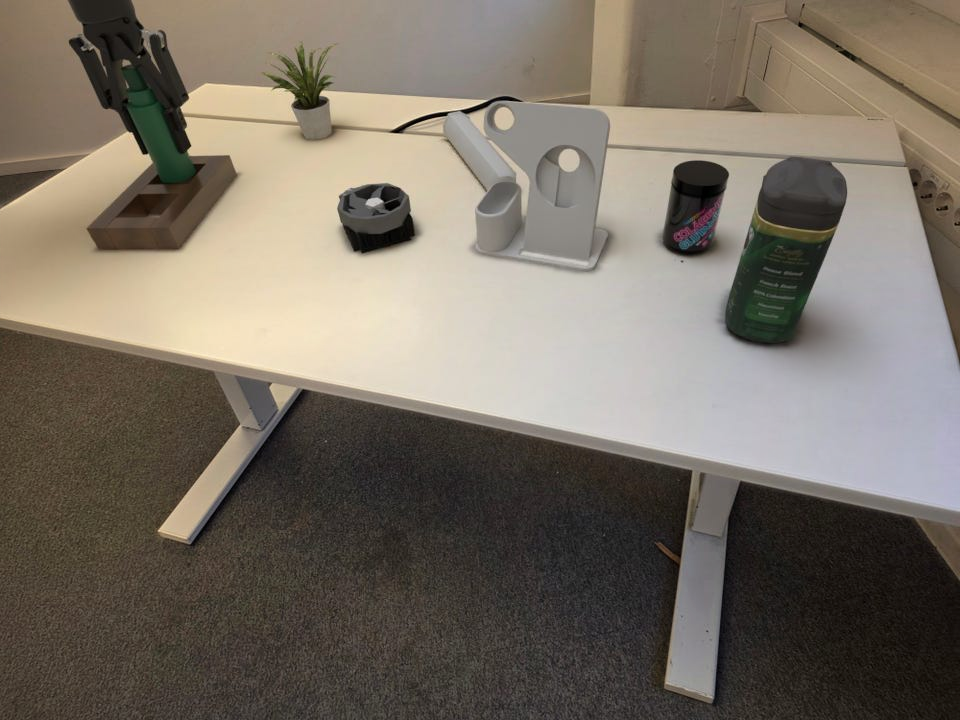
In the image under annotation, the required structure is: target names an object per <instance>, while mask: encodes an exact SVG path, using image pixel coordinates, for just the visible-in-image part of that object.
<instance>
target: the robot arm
mask: <svg viewBox="0 0 960 720" xmlns="http://www.w3.org/2000/svg"><path fill="white" fill-rule="evenodd" d="M67 2H68V4H69V6H70V9H71V10H72V12H73V14H74V16H75V18H76V20H77V21H78V22H79V23H81V25H82V33H79V34H76V35H75V36H73V37H72V38H70V39H68V45H69V46H70V47H71V49H72V50H73V51H74V53H75V54H76V56H77V57H78V58H79V60H80V62H81V64H82V66H83V68H84V71H85V73H86V75H87V77H88V79H89V82H90V84H91V86H92V88H93V91H94V92H95V95H96V97H97V99H98V101H99V104H100V105H101V107H102V108H103V109H104V110H112V111H115V112H116V113H117V114H118V115H119V117H120V119H121V121H122V124H123V125H124V128H125V130H126V131H127V132H128V133H129V134H130V133H131V134H132V135H133V137H134V140H135V142H136V144H137V146H138V148H139V151H140V153H141V154H142V155H143V156H146V155H149V154H148V151H147V149H146V147H145V145H144V143H143V141H142V139H141V137H140V135H139V132H138V130H137V128H136V126H135V124H134V122H133V120H132V118H131V115H130V113H129V111H128V109H127V107H126V105H127V103H129V102H130V100H129V98H128V96H127V94H126V89H128V84H127V82H126V80H125V77H124V75H123V73H122V71H121V68H122V67H124V65H123V63H124V61H128V62H129V63H130V64H132V66H133V67H135V68H137V69H138V71H139V72H140V73H141V75H142V76H143V78H144V79H145V80H146V82H147V83H148V85H149V86H150V88H151V89H152V90H153V92H154V93H155V95H156V96H157V97H158V99H159V100H160V102H161V103H162V104H163V106H164V107H165V110H164V112H162V114H163V116H164V118H165V121H166V123H167V125H168V128H169V130H170V132H171V135H172V137H173V139H174V141H175V144H176V146H177V148H178V151H179V153H180V154H185V152H186V151H188V150H189V149H191V147H192V143H191V141H190V139H189V136H188V134H187V132H186V129H187V128H188V122H187V121H186V118H185V116H184V113H183V110H182V108H181V107H183V105H185V104H186V103H187V102H188V101H189V100H190V96H189V94H188V91H187V88H186V87H185V84H184V82H183V80H182V77H181V75H180V73H179V71H178V68H177V66H176V63H175V61H174V59H173V56H172V55H171V52H170V50H169V48H168V47H169V46H168V39H167V34H166V32H165V31H164V30H162V29H158V30H157V31H155V30H151V29H147V28H145V27H144V25H143V24H142V23H141V22H140V21H139V19H138V18H137V15H136V9H135V5H134V3H133V1H132V0H67ZM145 42H146V46H147V48H149V49H150V52H151V54H150V52H149V51H148V49H147V48H146V46H145V44H144V43H145ZM94 47H95V48H94ZM96 49H97V50H98V51H99V54H100V57H99V55H98V53H97V51H96ZM152 57H153V59H154V62H153V60H152ZM100 59H101V60H100Z"/></svg>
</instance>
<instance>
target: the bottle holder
mask: <svg viewBox="0 0 960 720" xmlns="http://www.w3.org/2000/svg"><path fill="white" fill-rule="evenodd" d="M189 156H190V158H191V161H192V163H193V165H194V168H195V170H196V173H195V174H194V175H193V176H192V177H191V178H189V179H187V180H185V181H181V182H177V183H165V182H162V181H161V179H160V177H159V175H158V173H157V171H156V168H155V166H154V164H153V162H152V163H151V164H150V165H148V167H147V168H146V169H145V170H144V171H143V172H142V173H141V174H140V175H139V176H138V177H137V178H136V179H135V180H133V182H132V183H130V184H129V185H128V187H127V188H125V189H124V190H123V191H122V192H121V194H119V195H118V196H117V197H116V198H115V199H114V200H113V201H112V202H111V203H110V204H109V205H108V206H107V207H106V208H105V209H104V210H103V211H102V212H101V213H100V214H99V215H98V216H97V217H96V218H95V219H94V220H93V221H92V222H91V223H90V224H89V225H88V226H87V227H86V228H85V230H86V231H87V233H88V234H89V236H90V238H91V239H92V241H93V242H94V245H95V246H96V248H97V249H98V250H99V251H102V250H104V251H106V250H107V251H110V250H111V251H116V250H117V251H119V250H121V251H123V250H124V251H125V250H127V251H128V250H131V251H132V250H137V251H139V250H141V251H142V250H146V251H147V250H151V251H152V250H180V249H181V248H182V247H183V245H184V244H185V243H186V241H188V239H189V238H190V236H191V235H192V233H194V231H195V230H196V229H197V227H198V226H199V225H200V223H201V222H203V220H204V219H205V217H206V216H207V215H208V213H209V212H210V211H211V209H212V208H213V207H214V205H215V204H216V203H217V202H218V201H219V200H220V198H221V196H222V195H223V194H224V193H225V191H226V190H227V189H228V188H229V186H230V185H231V184H232V183H233V181H234V180H235V178H236V177H237V176H238V173H237V172H236V168H235V165H234V163H233V160H232V158H231V155H230V154H224V155H222V154H219V155H216V154H215V155H189ZM149 215H150V217H148V216H149ZM152 215H159V216H155V217H153V216H152Z"/></svg>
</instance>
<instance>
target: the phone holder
mask: <svg viewBox="0 0 960 720" xmlns="http://www.w3.org/2000/svg"><path fill="white" fill-rule="evenodd" d="M501 108H507V109H508V110H509V111H510V112H511V114H512V116H513V122H512V124H511V126H510V127H509V128H508V129H501V128H499V127H498V126H497V124H496V120H495V116H496V114H497V111H498V110H500V109H501ZM483 116H484V117H483V131H484V134H485V135H486V136H487V137H486V138H488V140H490V141H491V142H492V143H493V144H494V145H495V146H496V147H498V149H500V151H502V152H503V153H504V154H505V155H506V156H507V157H508V158H509V159H510V160H511V161H512V163H514V164H515V165H516V166H517V167H518V168H519V169H520V170H521V171H522V172H524V173H525V174H526V176H527V177H528V181H529V186H528V193H527V195H528V196H527V207H526V213H525V214H526V216H525V217H523V214H522V213H523V212H522V211H523V210H522V188H521V185H519V184H518V183H517V182H516V183H514V182H510V181H502V182H498V183H495V184H493V185H492V186H491V187H490V188H489V190H488V191H487V190H486V192H485V194H484V195H483V196H482V198H481V199H480V200H479V202H478V203H477V204H476V206H475V207H474V216H475V228H476V229H475V230H476V244H475V245H474V246H475V251H476V252H477V253H478V254H481V255H487V256H492V257H498V258H504V259H510V260H515V261H520V262H526V263H527V262H528V263H532V264H533V263H534V264H537V265H538V264H539V265H545V266H550V267H555V268H561V269H568V270H574V271H579V272H589V271H592V270H594V269H595V268H596V266H597V264H598V262H599V259H600V256H601V254H602V252H603V249H604V247H605V245H606V243H607V240H608V237H609V233H608V232H607V230H605V229H602V228H597V227H596V226H597V220H598V219H597V218H598V211H599V205H600V198H601V192H602V184H603V178H604V172H605V165H606V158H607V151H608V145H609V138H610V131H611V121H610V118H609V116H608V115H607V113H606V112H604V111H603V110H601V109H600V108H592V107H580V106H571V105H558V104H546V103H536V102H522V101H510V100H495V101H494V102H492V103H490V104H489V105H488V107H487V108H486V110H485V111H484V115H483ZM565 150H572V151H574V152H576V153H577V156H578V158H579V163H578V166H577V167H576V169H574V170H571V171H566V170H564V169H563V168H562V167H561V166H560V162H559V161H560V160H559V159H560V156H561V154H562V153H563V152H564V151H565ZM523 252H524V253H529V254H535V255H541V256H548V257H553V258H560V259H566V260H571V261H577V262H583V263H588V265H584V264H578V263H572V262H566V261H560V260H554V259H549V258H543V257H536V256H531V255H525V254H522V253H523Z"/></svg>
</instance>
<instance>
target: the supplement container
mask: <svg viewBox="0 0 960 720" xmlns="http://www.w3.org/2000/svg"><path fill="white" fill-rule="evenodd" d="M729 178H730V172H729V170H728V169H727V168H725V166H723V165H721V164H719V163H717V162H714V161H709V160H699V159H698V160H696V159H694V160H693V159H692V160H685V161H683V162H680V163H679V164H677V165H676V166H674V168H673V171H672V176H671V181H670V190H669V196H668V202H667V207H666V212H665V213H666V214H665V219H664V223H663V230H662V236H661V237H662V241H663V244H664V245H665V247H666V248H667V249H669V250H670V251H672V252H674V253H676V254H679V255H686V256H695V255H699V254H702V253H705V252H707V251H708V250H709V249H710V248H711V246H712V245H713V243H714V239H715V234H716V230H717V226H718V223H719V218H720V214H721V210H722V206H723V201H724V197H725V193H726V191H727V190H726V189H727V186H728V181H729Z"/></svg>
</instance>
